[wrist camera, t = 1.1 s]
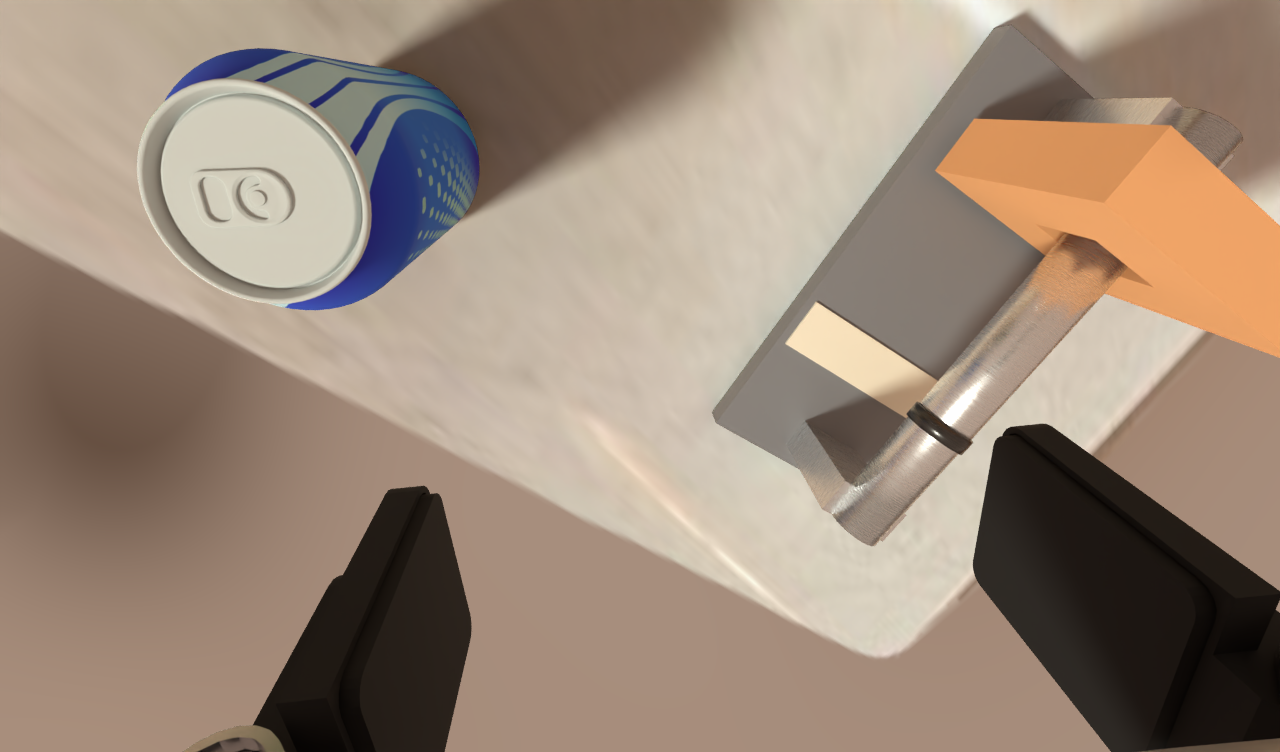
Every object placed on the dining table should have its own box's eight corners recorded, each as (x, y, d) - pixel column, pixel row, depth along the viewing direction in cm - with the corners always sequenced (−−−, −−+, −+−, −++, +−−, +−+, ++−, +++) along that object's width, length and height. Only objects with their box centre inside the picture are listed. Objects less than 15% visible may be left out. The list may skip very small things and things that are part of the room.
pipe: (1060, 99, 33) (1207, 96, 25) (1114, 146, 34) (1271, 158, 26) (785, 444, 40) (832, 527, 32) (837, 474, 42) (895, 561, 34)
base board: (994, 28, 33) (1013, 24, 31) (1161, 175, 37) (1185, 178, 35) (711, 412, 41) (716, 424, 39) (873, 502, 44) (883, 516, 43)
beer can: (370, 32, 31) (171, -33, 16) (514, 143, 34) (452, 172, 19) (292, 173, 33) (56, 226, 19) (431, 267, 36) (320, 378, 21)
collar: (974, 118, 32) (1170, 125, 21) (1124, 241, 35) (1362, 302, 24) (934, 170, 33) (1103, 202, 22) (1084, 286, 36) (1297, 364, 25)
